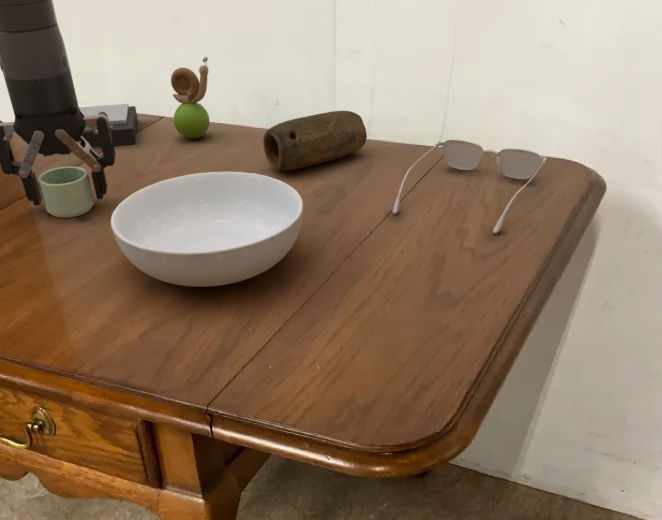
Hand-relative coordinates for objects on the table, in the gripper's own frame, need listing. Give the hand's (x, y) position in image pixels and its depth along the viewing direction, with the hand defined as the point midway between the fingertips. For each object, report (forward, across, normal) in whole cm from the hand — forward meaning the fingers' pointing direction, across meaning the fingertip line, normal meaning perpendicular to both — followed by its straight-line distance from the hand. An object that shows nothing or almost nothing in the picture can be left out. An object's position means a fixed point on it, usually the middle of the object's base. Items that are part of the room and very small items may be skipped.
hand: (69, 199), depth 100 cm
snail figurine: (+1, -17, -23) cm, 29 cm away
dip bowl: (+1, 0, 0) cm, 1 cm away
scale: (+1, -1, -28) cm, 28 cm away
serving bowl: (+1, -18, +19) cm, 26 cm away
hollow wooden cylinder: (+1, -34, -9) cm, 35 cm away
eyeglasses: (+2, -51, +8) cm, 52 cm away
